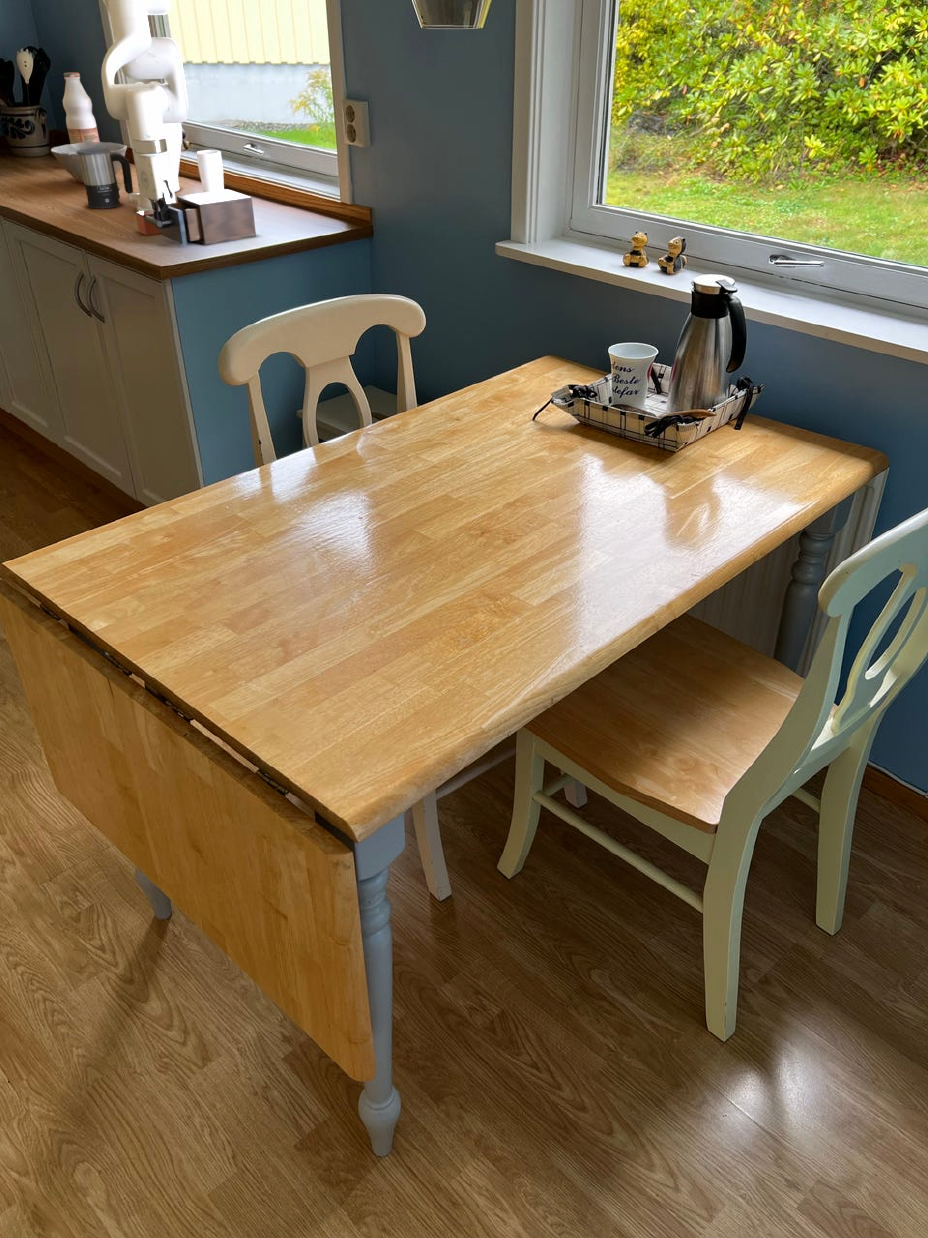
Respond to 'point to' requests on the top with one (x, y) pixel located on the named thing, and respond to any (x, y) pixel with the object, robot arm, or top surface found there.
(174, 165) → the vase
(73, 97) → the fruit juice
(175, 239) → the drawer
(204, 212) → the cabinet
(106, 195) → the milk frother
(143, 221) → the orange-red cube
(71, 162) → the ceramic bowl
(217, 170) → the white cylinder
